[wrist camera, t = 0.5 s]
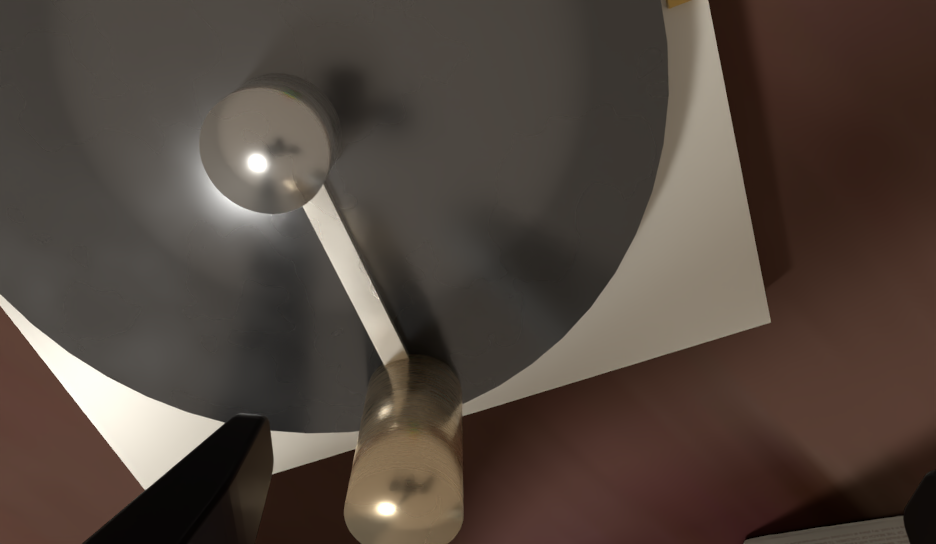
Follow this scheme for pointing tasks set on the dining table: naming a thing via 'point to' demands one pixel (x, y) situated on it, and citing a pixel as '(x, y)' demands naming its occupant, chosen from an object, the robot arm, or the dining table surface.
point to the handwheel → (326, 207)
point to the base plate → (598, 331)
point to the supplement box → (844, 534)
